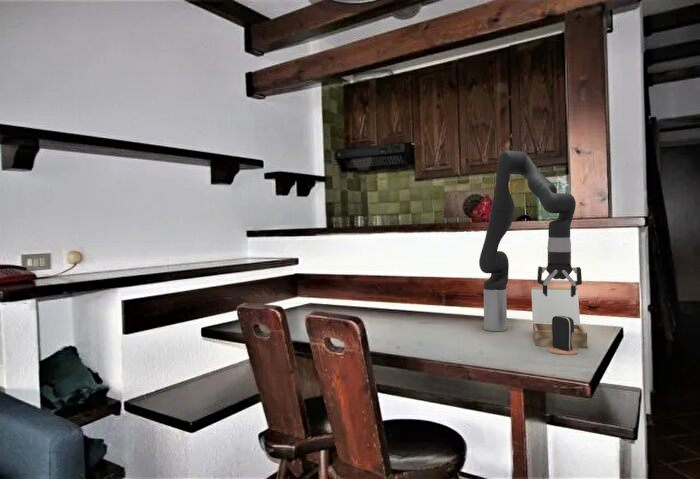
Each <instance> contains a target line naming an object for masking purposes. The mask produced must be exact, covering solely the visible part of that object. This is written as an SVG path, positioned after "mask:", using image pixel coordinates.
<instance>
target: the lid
mask: <svg viewBox="0 0 700 479" xmlns="http://www.w3.org/2000/svg"><path fill="white" fill-rule="evenodd" d="M530 289H531V311H532V312H531V313H532V315H531V316H532V323H540V324H552V318H553V317H554V316H566V317H570V318H572V319H573V321H574V325H581V318H580V315H581V314H580V305H579V303H580V302H579V290H578V289H579V288H578V287H576V295H574V297H571V287H561V286H560V287H555V286H554V287H553V286H550V287H549V286H547V296H545V294H543V286H540V287H539V286H531V287H530Z"/></svg>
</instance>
